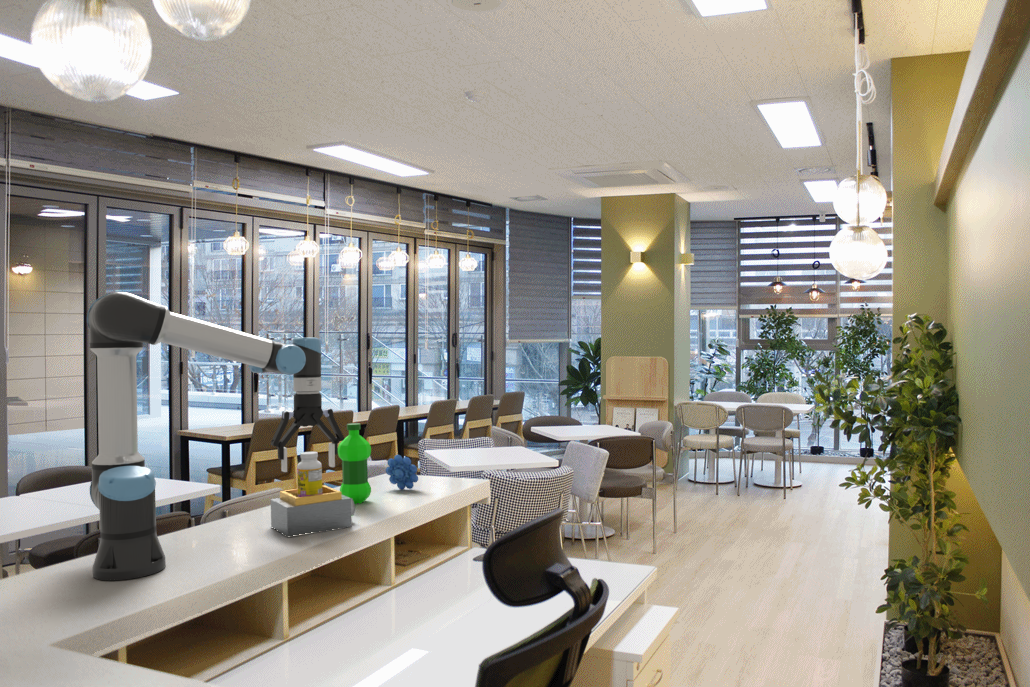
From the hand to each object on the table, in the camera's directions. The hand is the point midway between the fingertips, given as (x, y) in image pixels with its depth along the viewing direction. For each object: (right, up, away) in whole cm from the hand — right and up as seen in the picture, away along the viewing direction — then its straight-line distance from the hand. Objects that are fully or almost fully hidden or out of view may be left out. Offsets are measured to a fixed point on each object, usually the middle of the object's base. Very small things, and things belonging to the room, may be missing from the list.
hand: (308, 469), depth 221 cm
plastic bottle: (+7, -16, +32) cm, 37 cm away
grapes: (+19, -15, +50) cm, 56 cm away
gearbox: (+2, -16, +1) cm, 16 cm away
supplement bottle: (0, -8, 0) cm, 9 cm away
